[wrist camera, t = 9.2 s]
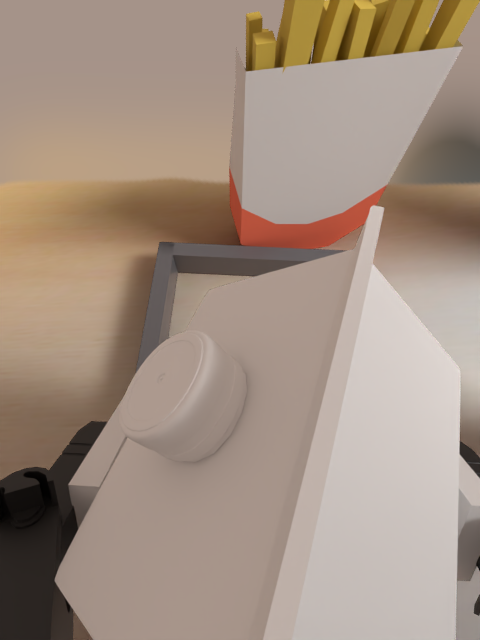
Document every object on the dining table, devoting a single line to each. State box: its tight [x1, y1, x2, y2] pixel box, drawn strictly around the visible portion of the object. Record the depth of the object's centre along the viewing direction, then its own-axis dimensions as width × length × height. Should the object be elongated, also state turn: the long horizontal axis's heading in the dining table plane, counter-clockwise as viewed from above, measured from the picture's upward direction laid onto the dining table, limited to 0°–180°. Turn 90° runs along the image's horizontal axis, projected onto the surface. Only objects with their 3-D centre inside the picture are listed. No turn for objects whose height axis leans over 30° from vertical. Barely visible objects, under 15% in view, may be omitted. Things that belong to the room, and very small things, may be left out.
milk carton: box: [55, 205, 461, 640], centre depth 12 cm, size 7×7×19 cm
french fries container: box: [229, 0, 480, 249], centre depth 21 cm, size 5×11×18 cm, turn 103°
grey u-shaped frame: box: [136, 242, 344, 373], centre depth 24 cm, size 16×13×2 cm
